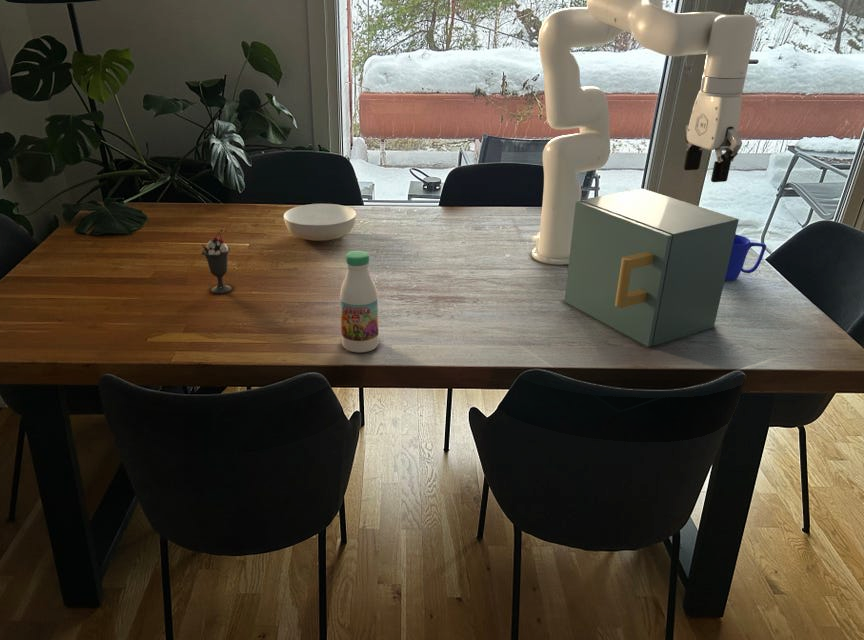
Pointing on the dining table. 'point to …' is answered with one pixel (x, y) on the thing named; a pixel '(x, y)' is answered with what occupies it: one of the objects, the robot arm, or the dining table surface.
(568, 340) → the dining table surface
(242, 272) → the dining table surface
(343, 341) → the milk bottle
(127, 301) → the dining table surface
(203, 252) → the sundae
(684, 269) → the cabinet
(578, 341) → the dining table surface
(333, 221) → the serving bowl
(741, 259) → the mug
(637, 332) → the cabinet door
